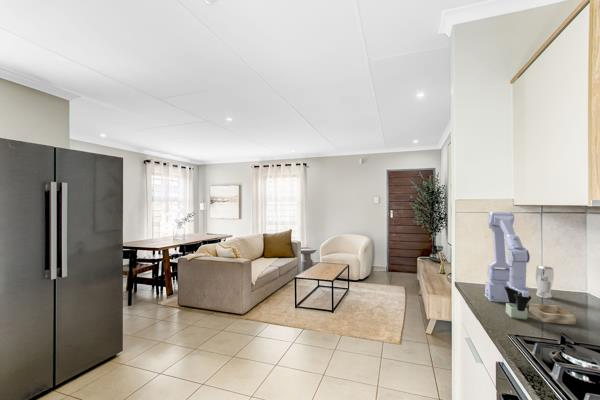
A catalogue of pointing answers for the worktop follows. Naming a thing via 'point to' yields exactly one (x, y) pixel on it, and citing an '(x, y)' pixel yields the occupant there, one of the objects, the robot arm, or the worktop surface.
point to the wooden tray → (552, 314)
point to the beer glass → (544, 281)
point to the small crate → (515, 311)
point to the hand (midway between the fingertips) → (516, 307)
